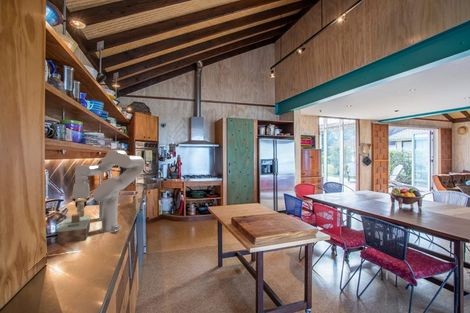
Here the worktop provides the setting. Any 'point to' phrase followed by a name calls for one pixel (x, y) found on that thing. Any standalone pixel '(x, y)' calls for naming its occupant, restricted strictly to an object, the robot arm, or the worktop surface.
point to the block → (80, 208)
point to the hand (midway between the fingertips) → (80, 207)
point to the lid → (74, 223)
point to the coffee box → (100, 210)
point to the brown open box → (73, 235)
